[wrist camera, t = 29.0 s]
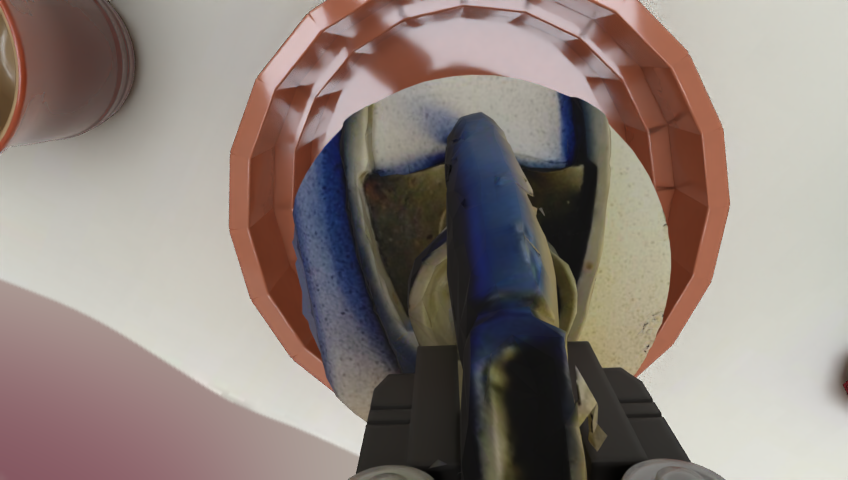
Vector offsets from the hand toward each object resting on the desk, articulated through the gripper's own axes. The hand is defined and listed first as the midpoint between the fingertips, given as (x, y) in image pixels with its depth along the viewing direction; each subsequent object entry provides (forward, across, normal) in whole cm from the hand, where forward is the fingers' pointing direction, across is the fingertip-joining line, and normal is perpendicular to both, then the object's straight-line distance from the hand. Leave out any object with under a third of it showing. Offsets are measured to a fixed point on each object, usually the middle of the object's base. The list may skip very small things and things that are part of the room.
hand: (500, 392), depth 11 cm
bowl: (+21, 0, 0) cm, 21 cm away
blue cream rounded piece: (+11, -1, +2) cm, 11 cm away
